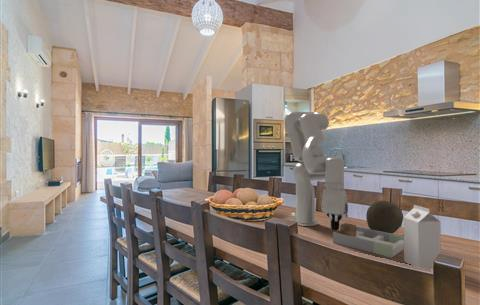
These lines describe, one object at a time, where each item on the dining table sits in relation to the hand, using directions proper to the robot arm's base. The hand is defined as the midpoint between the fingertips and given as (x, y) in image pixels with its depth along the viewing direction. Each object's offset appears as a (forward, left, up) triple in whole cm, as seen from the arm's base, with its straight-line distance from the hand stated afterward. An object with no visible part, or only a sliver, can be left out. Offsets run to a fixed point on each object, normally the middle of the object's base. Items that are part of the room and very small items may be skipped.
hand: (335, 229), depth 114 cm
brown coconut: (+12, +21, -4) cm, 24 cm away
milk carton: (+33, -5, -4) cm, 33 cm away
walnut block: (+6, 0, -1) cm, 6 cm away
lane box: (+13, +3, -4) cm, 14 cm away
